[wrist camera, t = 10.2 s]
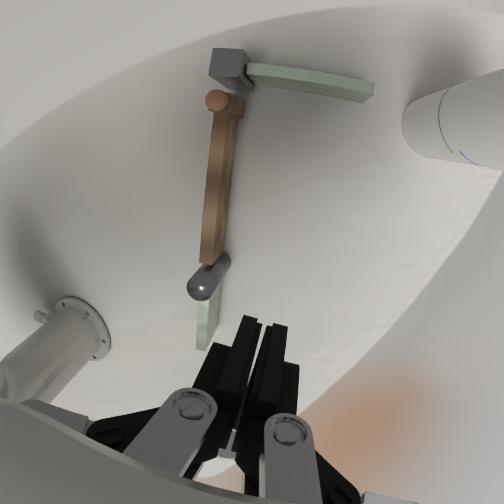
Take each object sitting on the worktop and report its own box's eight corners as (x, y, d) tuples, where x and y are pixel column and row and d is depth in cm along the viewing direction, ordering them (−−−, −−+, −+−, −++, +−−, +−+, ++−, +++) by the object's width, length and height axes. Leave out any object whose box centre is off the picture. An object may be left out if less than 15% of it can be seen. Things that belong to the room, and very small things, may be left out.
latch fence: (229, 89, 32) (208, 75, 25) (233, 67, 31) (212, 48, 24) (361, 109, 31) (377, 99, 23) (364, 86, 30) (380, 71, 22)
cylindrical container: (439, 170, 31) (598, 223, 8) (391, 135, 31) (535, 127, 8) (463, 122, 28) (625, 121, 5) (417, 86, 28) (561, 23, 5)
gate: (228, 248, 38) (205, 277, 30) (212, 245, 38) (186, 273, 30) (246, 102, 32) (226, 88, 24) (228, 100, 32) (203, 87, 24)
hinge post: (203, 322, 43) (184, 356, 35) (210, 249, 39) (187, 274, 32) (223, 327, 42) (206, 362, 35) (231, 253, 39) (213, 279, 31)
